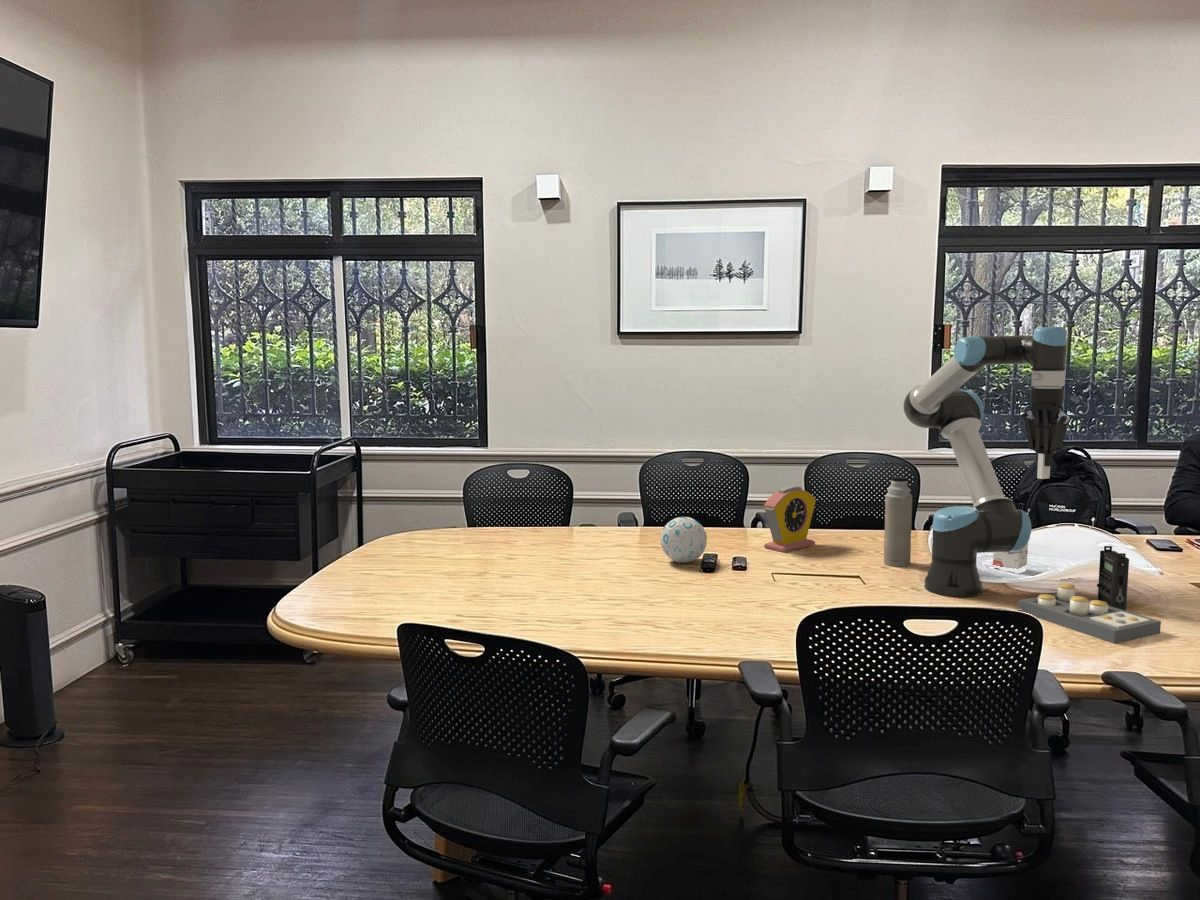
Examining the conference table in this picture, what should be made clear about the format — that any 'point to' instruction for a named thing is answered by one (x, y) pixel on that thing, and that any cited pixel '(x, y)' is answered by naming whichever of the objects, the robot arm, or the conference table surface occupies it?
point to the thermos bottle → (898, 523)
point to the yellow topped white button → (1098, 606)
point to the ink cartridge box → (1011, 558)
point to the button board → (1095, 621)
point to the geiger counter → (1113, 578)
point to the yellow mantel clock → (789, 518)
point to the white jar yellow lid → (1079, 606)
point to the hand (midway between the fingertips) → (1043, 478)
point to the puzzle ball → (683, 539)
